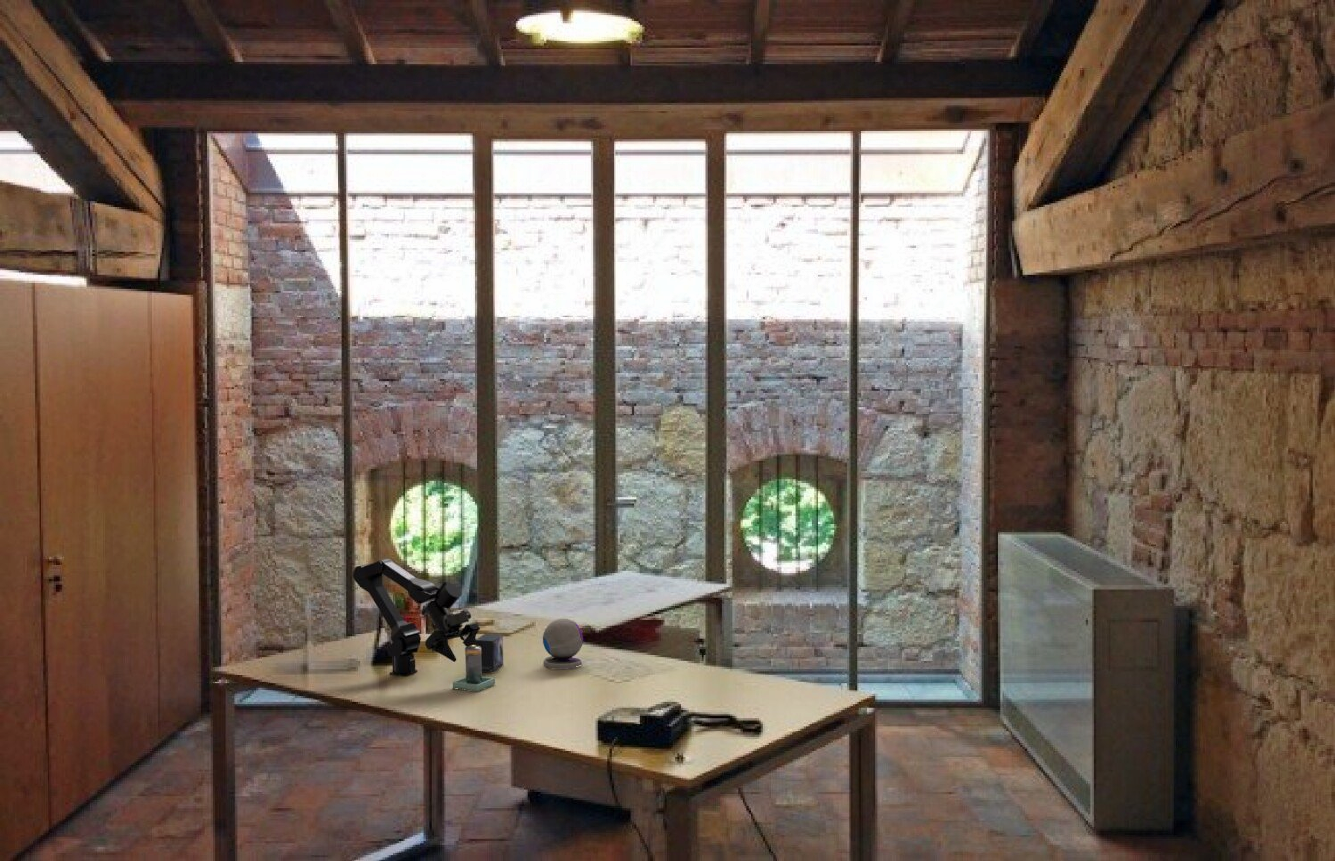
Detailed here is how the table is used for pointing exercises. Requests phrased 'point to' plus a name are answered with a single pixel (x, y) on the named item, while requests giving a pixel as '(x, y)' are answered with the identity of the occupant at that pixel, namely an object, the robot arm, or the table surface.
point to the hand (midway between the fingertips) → (466, 658)
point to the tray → (474, 687)
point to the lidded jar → (473, 664)
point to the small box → (491, 651)
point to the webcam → (562, 644)
